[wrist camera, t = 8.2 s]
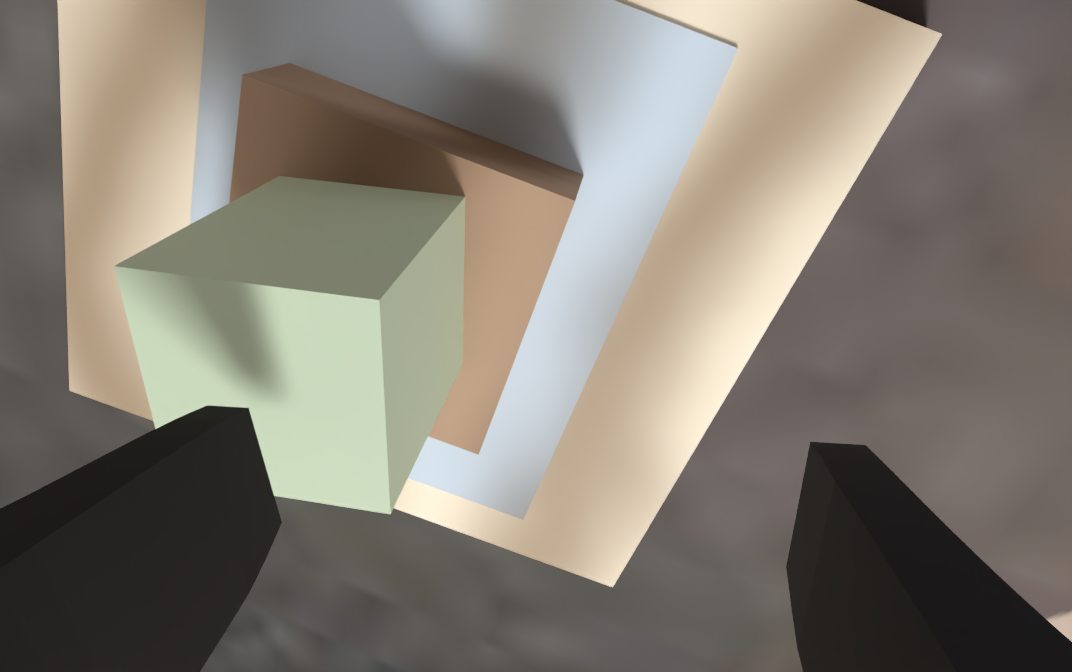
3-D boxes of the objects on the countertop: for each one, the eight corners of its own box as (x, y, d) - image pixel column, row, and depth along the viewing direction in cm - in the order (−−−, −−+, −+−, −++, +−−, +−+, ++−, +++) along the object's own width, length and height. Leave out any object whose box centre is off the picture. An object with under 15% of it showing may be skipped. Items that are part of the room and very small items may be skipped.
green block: (465, 196, 14) (379, 300, 9) (462, 363, 16) (390, 513, 11) (279, 176, 14) (114, 266, 10) (299, 341, 16) (167, 478, 12)
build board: (927, 30, 14) (990, 43, 11) (613, 567, 22) (609, 645, 19) (79, -304, 13) (-56, -370, 11) (88, 377, 21) (13, 431, 19)
